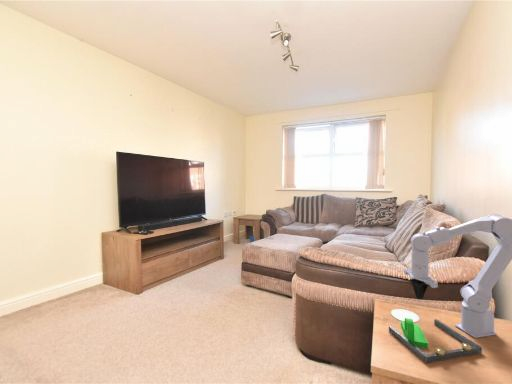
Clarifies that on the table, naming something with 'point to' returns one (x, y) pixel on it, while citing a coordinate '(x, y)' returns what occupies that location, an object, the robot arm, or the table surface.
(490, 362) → the table surface
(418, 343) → the mechanical part
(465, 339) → the grey frame
